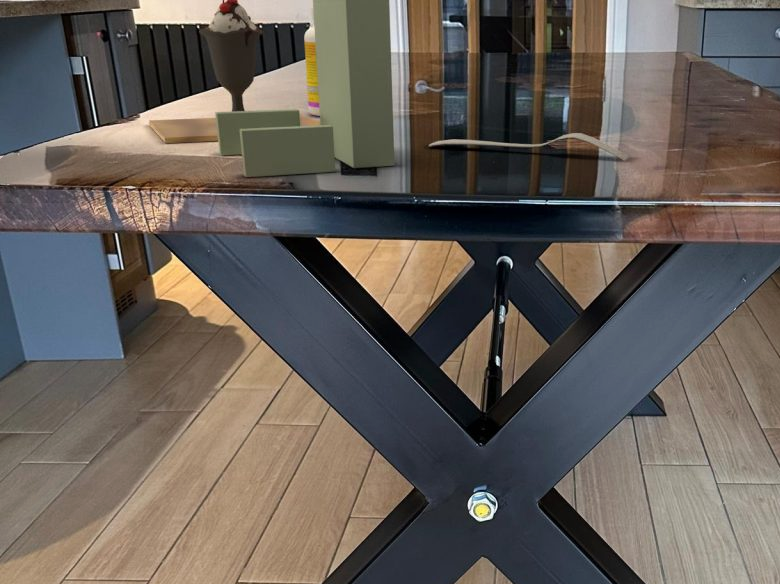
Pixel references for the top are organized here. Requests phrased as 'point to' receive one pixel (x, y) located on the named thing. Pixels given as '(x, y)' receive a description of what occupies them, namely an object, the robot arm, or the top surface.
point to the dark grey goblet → (232, 49)
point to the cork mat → (197, 129)
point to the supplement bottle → (311, 69)
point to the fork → (573, 135)
